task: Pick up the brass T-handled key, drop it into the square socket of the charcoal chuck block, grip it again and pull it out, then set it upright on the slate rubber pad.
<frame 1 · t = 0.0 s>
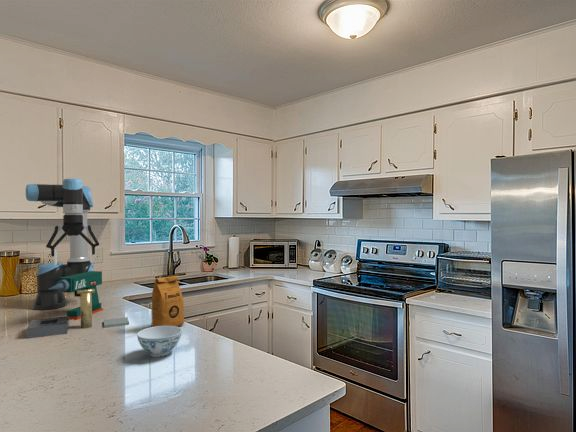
hand: (73, 263, 172), 28 cm above the counter, fingers open, 13 cm apart
power tool: (75, 318, 188), on the counter
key: (86, 326, 173), on the counter
pad: (116, 323, 178), on the counter
chinaware: (160, 354, 139), on the counter
chuck block: (49, 331, 167), on the counter
coffee package: (168, 327, 172), on the counter
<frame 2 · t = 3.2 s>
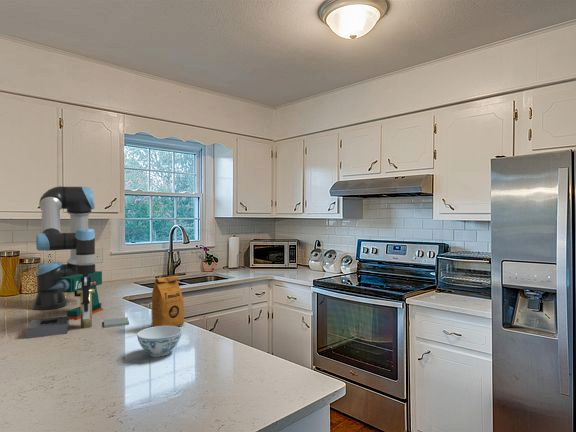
hand: (86, 317, 173), 4 cm above the counter, fingers closed on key, 4 cm apart
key: (86, 326, 173), on the counter, touching gripper
everything else where it was.
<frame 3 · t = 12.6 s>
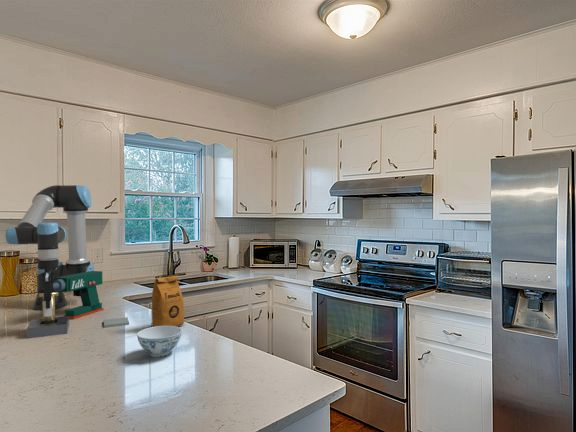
hand: (48, 314, 167), 7 cm above the counter, fingers closed on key, 4 cm apart
power tool: (73, 318, 189), on the counter
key: (49, 331, 167), resting in chuck block, touching gripper
everything else where it was.
when the fingers open (9 cm above the counter, at t = 22.0 s): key drops 2 cm, resting on pad.
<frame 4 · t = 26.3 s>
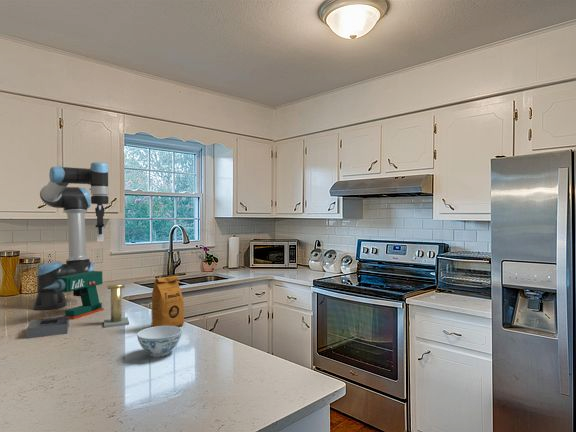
hand: (100, 240, 187), 37 cm above the counter, fingers open, 13 cm apart
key: (116, 321, 178), point 1 cm above the counter, touching pad
everything else where it was.
at the end: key 0.1 cm off-centre on the pad, point 1.0 cm above the pad's base; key tilted 1°; the gripper is holding nothing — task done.
